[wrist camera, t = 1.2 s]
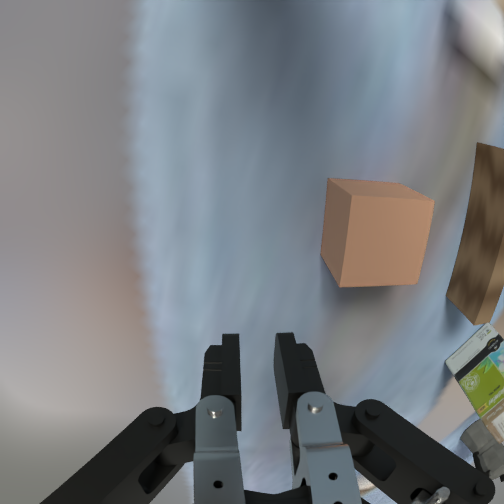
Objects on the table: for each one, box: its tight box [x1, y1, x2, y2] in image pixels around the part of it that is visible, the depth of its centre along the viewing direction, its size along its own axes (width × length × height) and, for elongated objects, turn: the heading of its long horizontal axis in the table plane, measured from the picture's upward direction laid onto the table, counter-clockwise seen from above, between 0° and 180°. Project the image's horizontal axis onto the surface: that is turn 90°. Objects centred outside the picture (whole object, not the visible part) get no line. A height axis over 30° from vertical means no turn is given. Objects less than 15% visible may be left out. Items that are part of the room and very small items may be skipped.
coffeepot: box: [460, 419, 504, 482], centre depth 46 cm, size 15×9×18 cm, turn 70°
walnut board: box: [446, 142, 504, 325], centre depth 30 cm, size 20×3×7 cm, turn 179°
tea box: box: [445, 323, 504, 444], centre depth 36 cm, size 15×10×15 cm
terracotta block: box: [320, 178, 435, 287], centre depth 29 cm, size 8×8×7 cm
